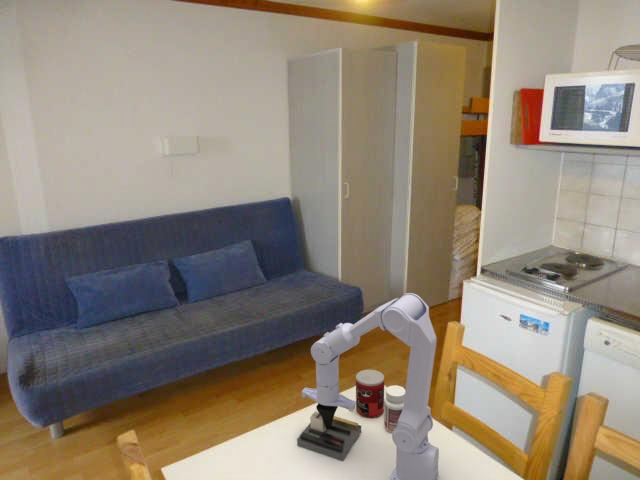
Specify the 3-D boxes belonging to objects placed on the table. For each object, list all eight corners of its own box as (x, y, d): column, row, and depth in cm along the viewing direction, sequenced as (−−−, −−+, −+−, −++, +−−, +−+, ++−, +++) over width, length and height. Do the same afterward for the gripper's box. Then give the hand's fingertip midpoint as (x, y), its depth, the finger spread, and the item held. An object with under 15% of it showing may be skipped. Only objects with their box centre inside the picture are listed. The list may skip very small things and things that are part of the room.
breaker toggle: (327, 427, 125) (327, 413, 124) (322, 433, 123) (322, 419, 122) (315, 423, 127) (315, 410, 126) (310, 429, 125) (310, 416, 123)
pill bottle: (411, 428, 127) (412, 392, 124) (394, 437, 124) (395, 400, 121) (396, 417, 132) (396, 381, 129) (379, 425, 129) (379, 389, 126)
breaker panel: (361, 432, 126) (361, 422, 126) (342, 461, 116) (342, 451, 115) (318, 419, 132) (318, 409, 131) (297, 445, 122) (296, 435, 121)
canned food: (352, 405, 138) (351, 372, 135) (377, 399, 140) (377, 367, 137) (362, 421, 131) (362, 386, 128) (388, 415, 133) (388, 380, 130)
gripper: (360, 379, 120) (360, 425, 123) (310, 367, 126) (311, 410, 130) (348, 394, 114) (349, 441, 117) (296, 380, 120) (298, 425, 124)
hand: (328, 426), depth 123 cm, fingers closed
